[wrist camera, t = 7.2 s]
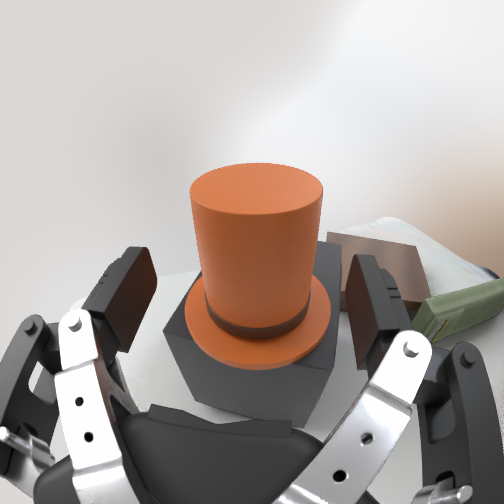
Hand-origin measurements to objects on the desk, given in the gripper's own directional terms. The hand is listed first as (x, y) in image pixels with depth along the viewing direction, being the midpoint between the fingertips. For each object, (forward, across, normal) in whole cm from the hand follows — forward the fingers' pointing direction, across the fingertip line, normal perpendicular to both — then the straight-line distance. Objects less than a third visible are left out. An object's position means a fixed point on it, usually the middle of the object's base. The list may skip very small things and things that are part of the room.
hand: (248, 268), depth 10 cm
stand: (+19, +14, -18) cm, 30 cm away
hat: (+4, 0, -6) cm, 7 cm away
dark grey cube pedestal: (+6, 0, -18) cm, 19 cm away
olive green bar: (+11, +29, -18) cm, 36 cm away
